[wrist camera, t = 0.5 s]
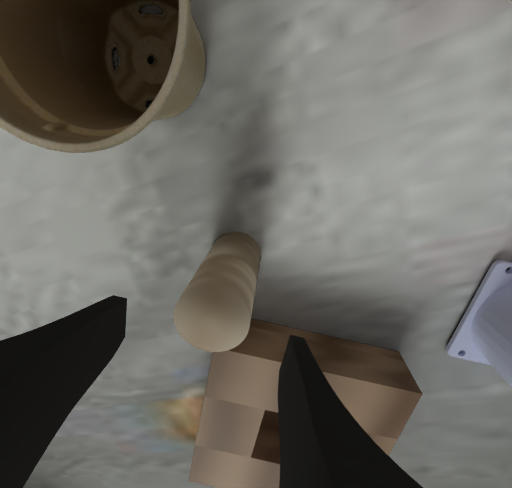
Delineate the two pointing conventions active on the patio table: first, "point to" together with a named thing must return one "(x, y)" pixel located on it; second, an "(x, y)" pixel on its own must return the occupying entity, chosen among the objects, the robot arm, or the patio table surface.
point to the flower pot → (94, 69)
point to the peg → (220, 295)
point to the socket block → (266, 402)
